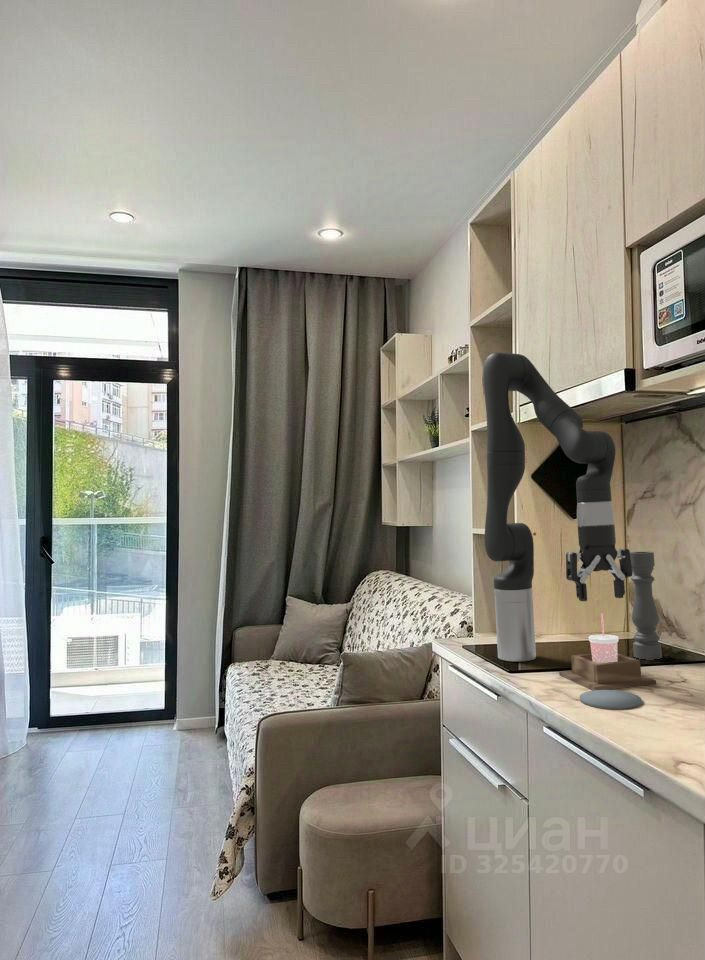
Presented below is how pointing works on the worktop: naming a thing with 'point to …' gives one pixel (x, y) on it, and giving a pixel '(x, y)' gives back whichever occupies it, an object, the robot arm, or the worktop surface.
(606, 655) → the beverage cup
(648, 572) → the candle holder
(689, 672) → the worktop surface
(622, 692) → the slate coaster
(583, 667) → the stepped square tray
